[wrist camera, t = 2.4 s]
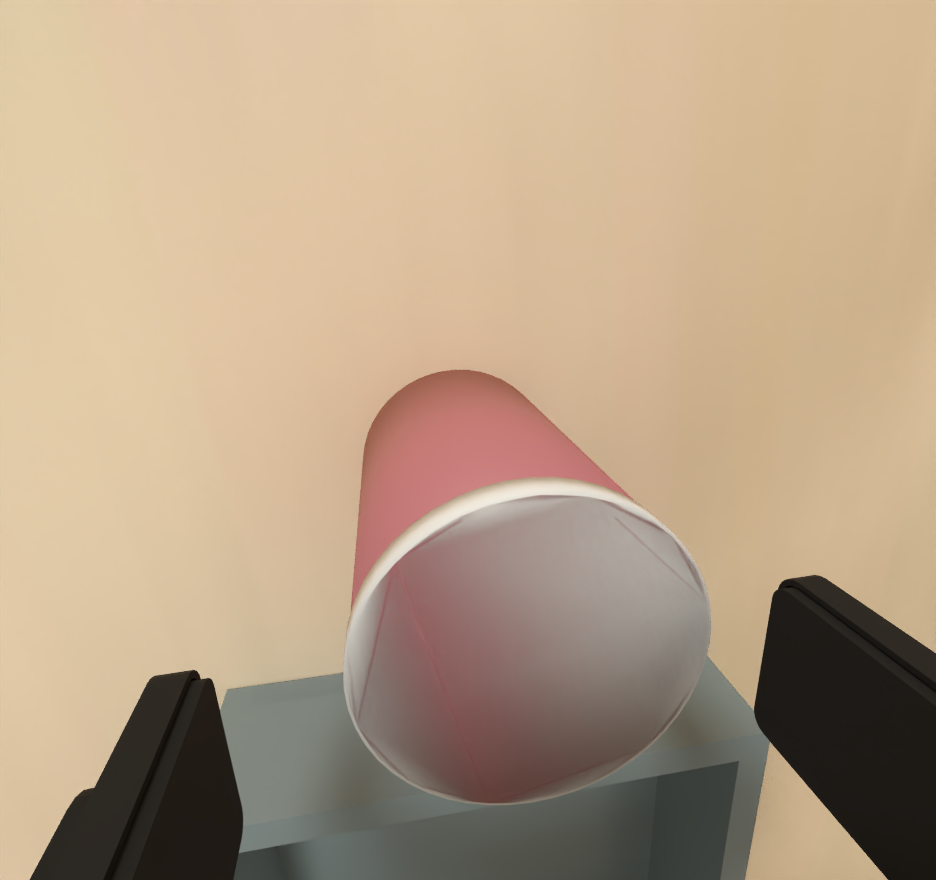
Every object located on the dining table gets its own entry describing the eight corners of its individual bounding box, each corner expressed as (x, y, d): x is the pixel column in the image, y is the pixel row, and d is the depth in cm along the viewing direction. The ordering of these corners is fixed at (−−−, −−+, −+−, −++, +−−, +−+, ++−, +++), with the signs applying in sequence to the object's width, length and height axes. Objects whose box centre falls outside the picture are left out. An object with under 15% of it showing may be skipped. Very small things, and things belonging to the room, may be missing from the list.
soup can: (551, 363, 18) (734, 476, 9) (546, 536, 20) (689, 776, 11) (353, 373, 17) (323, 510, 8) (369, 553, 19) (360, 830, 10)
